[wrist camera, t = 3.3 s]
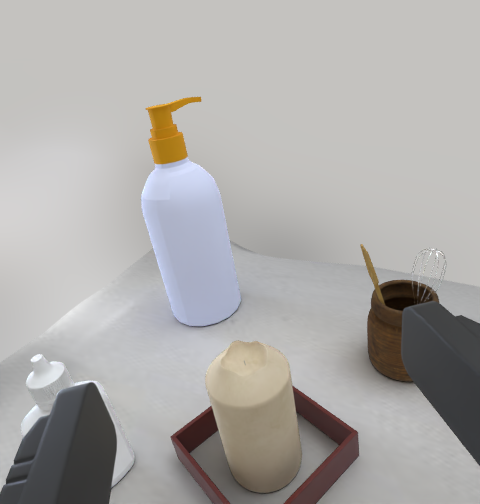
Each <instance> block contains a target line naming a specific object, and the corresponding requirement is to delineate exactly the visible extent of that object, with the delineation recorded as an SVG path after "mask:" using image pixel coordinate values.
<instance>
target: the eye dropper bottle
mask: <svg viewBox="0 0 480 504" xmlns="http://www.w3.org/2000/svg"><path fill="white" fill-rule="evenodd" d="M31 363H32V367H33V372H32V373H31V374H30V375H29V377H28V378H27V381H26V387H27V388H28V390H29V392H30V394H31V395H32V397H33V399H34V401H35V402H36V404H37V405H36V406H35V407H34V408H33V409H32V410H31V411H30V412H29V413H28V414H27V415H26V417H25V418H24V420H23V421H22V424H21V433H22V437H23V438H24V436H25V435H26V434H27V433H28V431H29V430H30V429H31V427H32V426H33V425H34V424H35V422H36V421H37V420H38V419H39V417H43V416H47V415H50V412H51V410H52V407H53V404H54V401H55V398H56V396H57V393H58V392H59V391H60V390H61V389H65V388H69V387H73V386H77V385H81V384H85V383H90V382H93V383H95V384H96V386H97V388H98V390H99V392H100V394H101V396H102V399H103V401H104V403H105V405H106V408H107V410H108V412H109V414H110V416H111V419H112V421H113V423H114V426H115V430H116V436H117V452H116V459H115V465H114V472H113V479H112V486H111V488H112V487H113V486H114V485H115V484H116V483H118V482H119V481H120V480H121V479H122V478H123V477H124V476H125V474H126V473H127V472H128V471H129V470H130V468H131V467H132V466H133V464H134V461H135V455H134V452H133V450H132V448H131V446H130V443H129V441H128V439H127V437H126V435H125V432H124V430H123V428H122V426H121V423H120V421H119V419H118V417H117V415H116V412H115V410H114V408H113V406H112V404H111V402H110V400H109V398H108V395H107V393H106V392H105V390H104V388H103V387H102V385H101V384H100V383H99V382H97V381H83V382H77V383H73V381H72V379H71V377H70V375H69V373H68V371H67V369H66V367H65V365H64V364H63V363H61V362H48V361H47V360H46V358H45V357H44V356H43V355H42V354H38V355H36V356H34V357H33V358H32V359H31Z"/></svg>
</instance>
